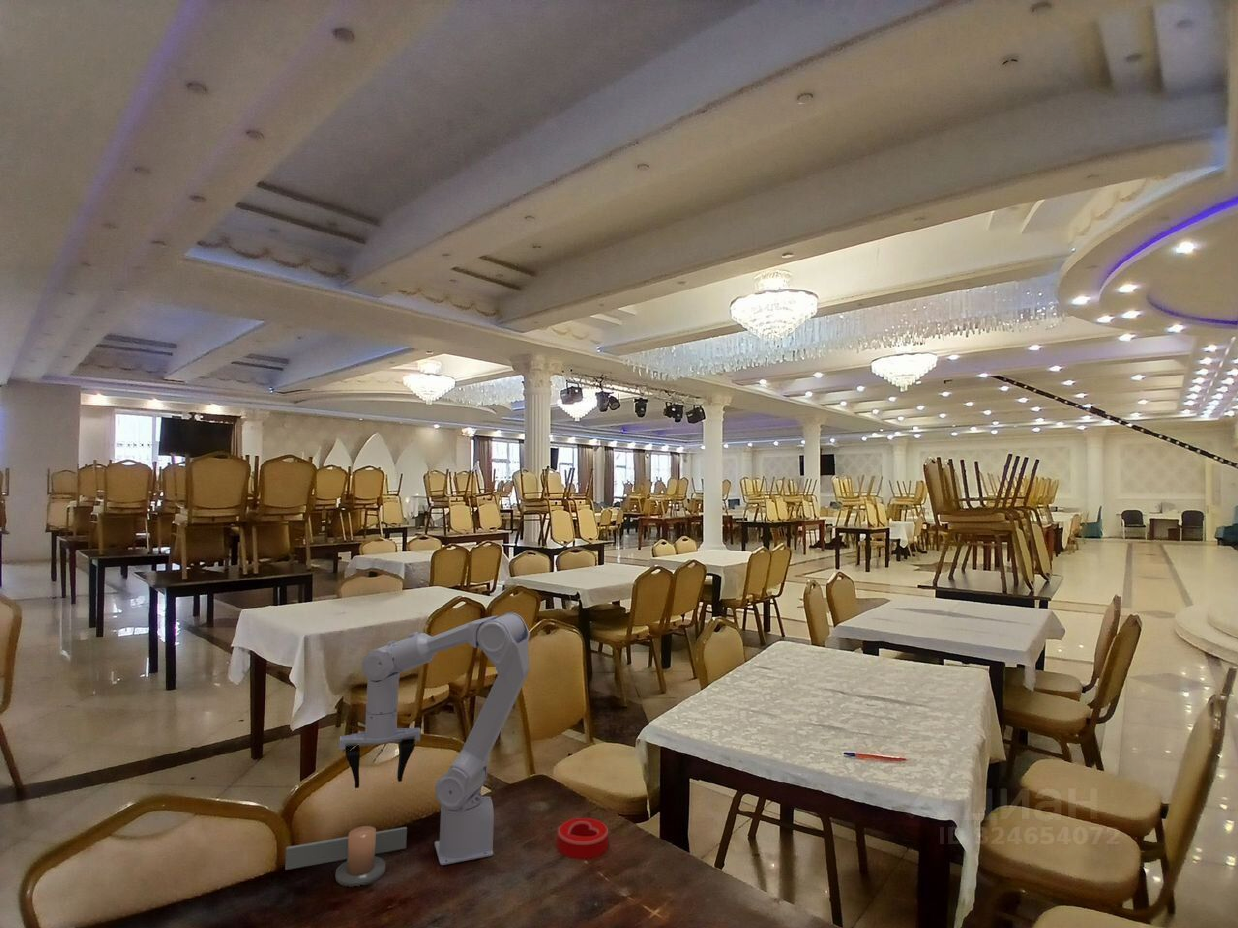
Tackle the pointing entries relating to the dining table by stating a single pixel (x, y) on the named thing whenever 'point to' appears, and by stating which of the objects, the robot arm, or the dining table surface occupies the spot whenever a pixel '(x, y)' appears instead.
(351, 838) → the terracotta cylinder
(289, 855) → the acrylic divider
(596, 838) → the decorative ornament
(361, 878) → the slate coaster
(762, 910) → the dining table surface
